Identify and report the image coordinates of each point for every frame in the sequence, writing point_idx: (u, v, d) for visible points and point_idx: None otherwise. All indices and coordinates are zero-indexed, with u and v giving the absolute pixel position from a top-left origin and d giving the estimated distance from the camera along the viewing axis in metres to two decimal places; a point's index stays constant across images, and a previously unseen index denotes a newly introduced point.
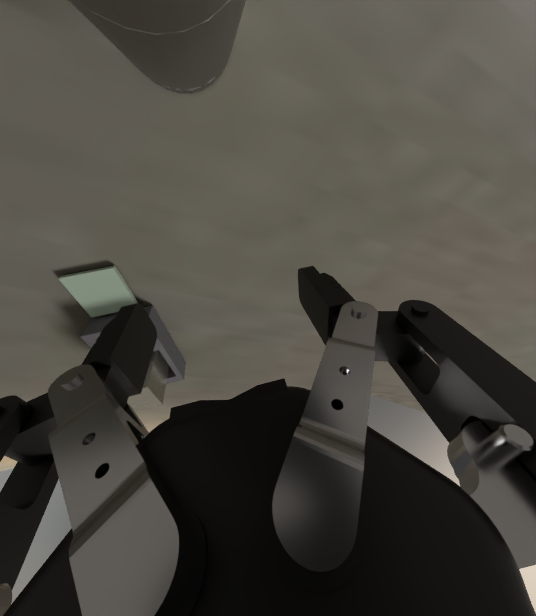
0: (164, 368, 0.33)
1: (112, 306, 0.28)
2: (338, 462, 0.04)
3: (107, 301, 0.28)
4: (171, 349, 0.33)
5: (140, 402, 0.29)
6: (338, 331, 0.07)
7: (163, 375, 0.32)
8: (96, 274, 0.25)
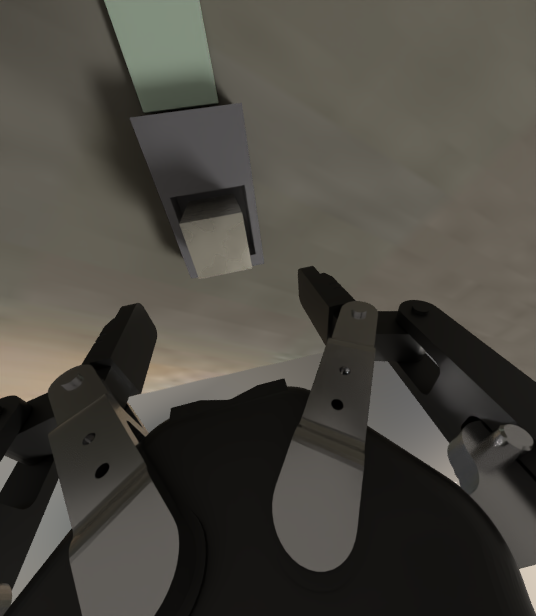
0: None
1: (179, 90, 0.17)
2: (338, 462, 0.04)
3: (173, 74, 0.16)
4: None
5: (222, 255, 0.17)
6: (338, 331, 0.07)
7: None
8: None
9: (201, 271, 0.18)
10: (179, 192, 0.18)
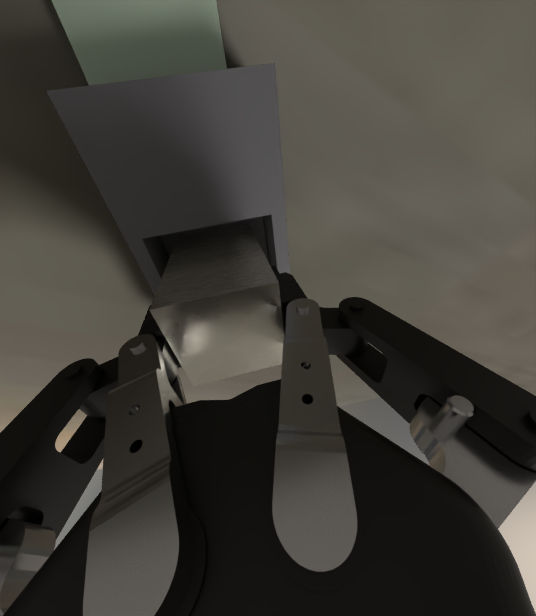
0: None
1: (155, 45, 0.09)
2: (323, 453, 0.04)
3: (142, 12, 0.09)
4: None
5: (235, 350, 0.09)
6: (289, 330, 0.07)
7: None
8: None
9: (197, 376, 0.10)
10: (158, 228, 0.10)
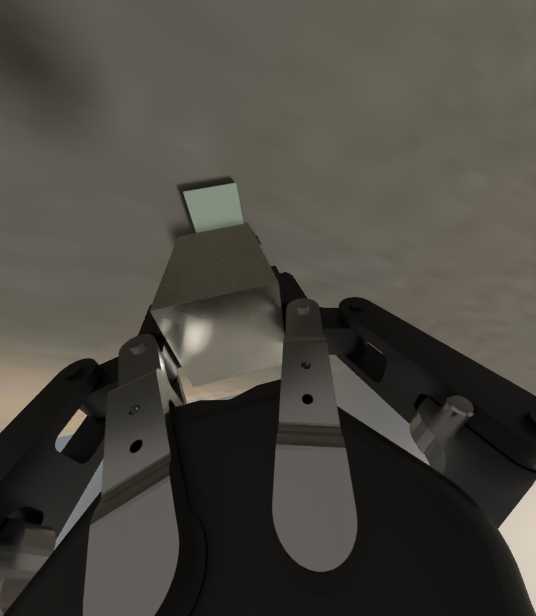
0: None
1: None
2: (323, 453, 0.04)
3: (219, 225, 0.27)
4: None
5: (235, 350, 0.09)
6: (289, 330, 0.07)
7: None
8: (218, 189, 0.25)
9: (197, 376, 0.10)
10: None
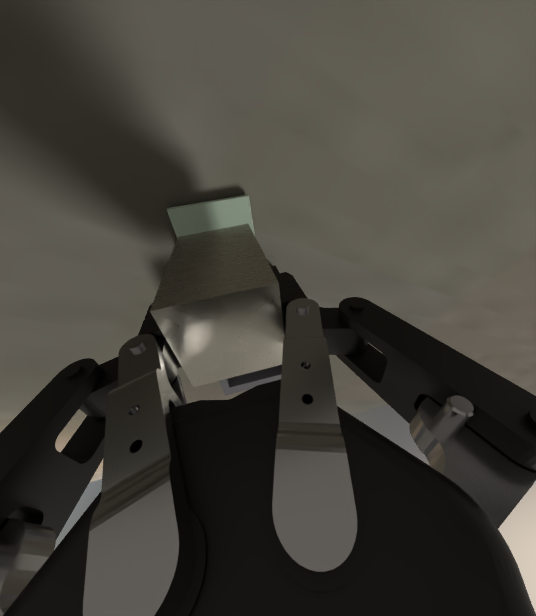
0: None
1: None
2: (323, 453, 0.04)
3: None
4: None
5: (235, 351, 0.09)
6: (289, 330, 0.07)
7: None
8: (222, 206, 0.16)
9: (197, 377, 0.10)
10: None
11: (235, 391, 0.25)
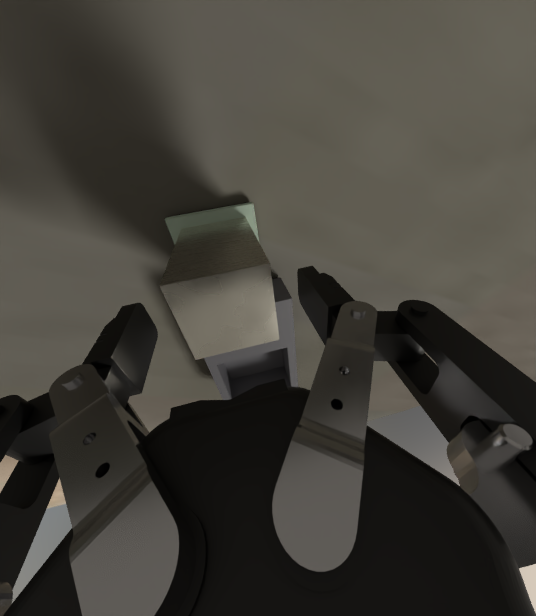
0: None
1: None
2: (338, 462, 0.04)
3: None
4: None
5: (233, 326, 0.11)
6: (337, 331, 0.07)
7: None
8: (224, 215, 0.15)
9: (199, 350, 0.11)
10: (226, 360, 0.19)
11: None
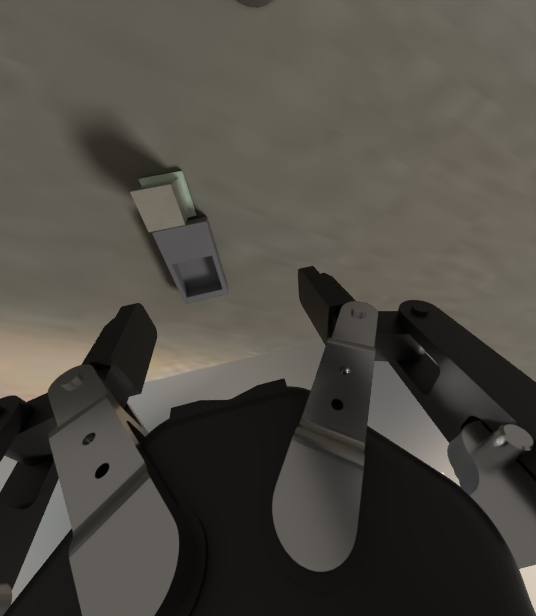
0: (185, 206, 0.31)
1: None
2: (338, 462, 0.04)
3: None
4: (219, 262, 0.38)
5: (162, 214, 0.26)
6: (338, 331, 0.07)
7: (184, 208, 0.30)
8: (168, 177, 0.31)
9: (149, 226, 0.27)
10: (176, 261, 0.35)
11: (191, 301, 0.39)
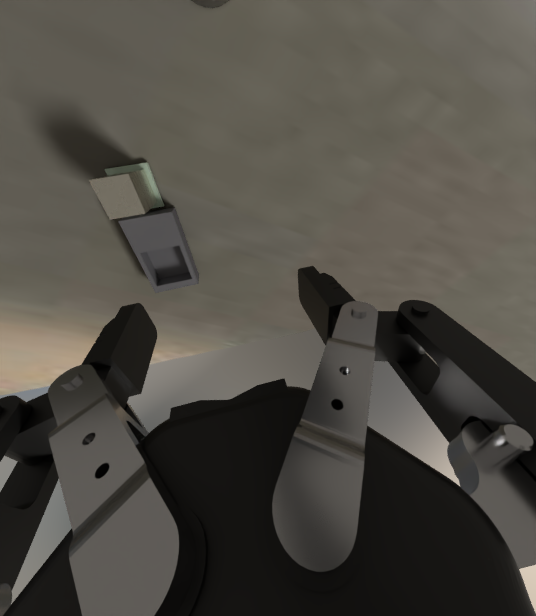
0: (150, 196, 0.32)
1: None
2: (338, 462, 0.04)
3: None
4: (188, 252, 0.39)
5: (122, 202, 0.27)
6: (338, 331, 0.07)
7: (148, 198, 0.31)
8: (133, 167, 0.32)
9: (110, 214, 0.28)
10: (144, 250, 0.36)
11: (161, 290, 0.41)
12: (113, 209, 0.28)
